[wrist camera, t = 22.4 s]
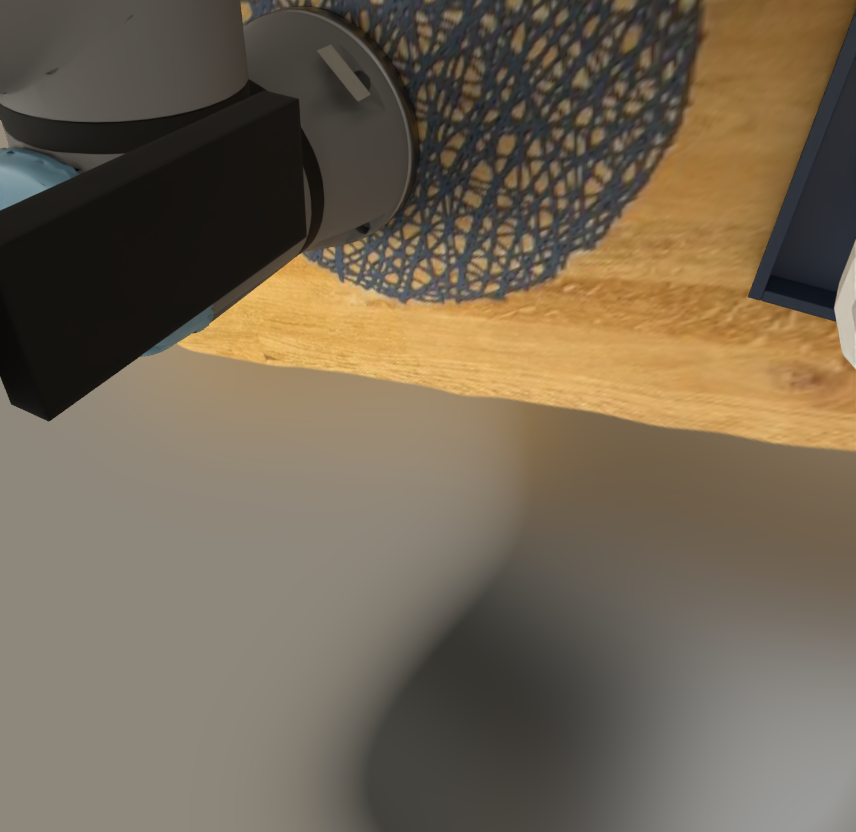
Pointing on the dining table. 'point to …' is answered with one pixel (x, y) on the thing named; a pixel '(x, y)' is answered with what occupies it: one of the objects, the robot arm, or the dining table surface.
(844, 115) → the tray
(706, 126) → the dining table surface
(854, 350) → the foam cup
